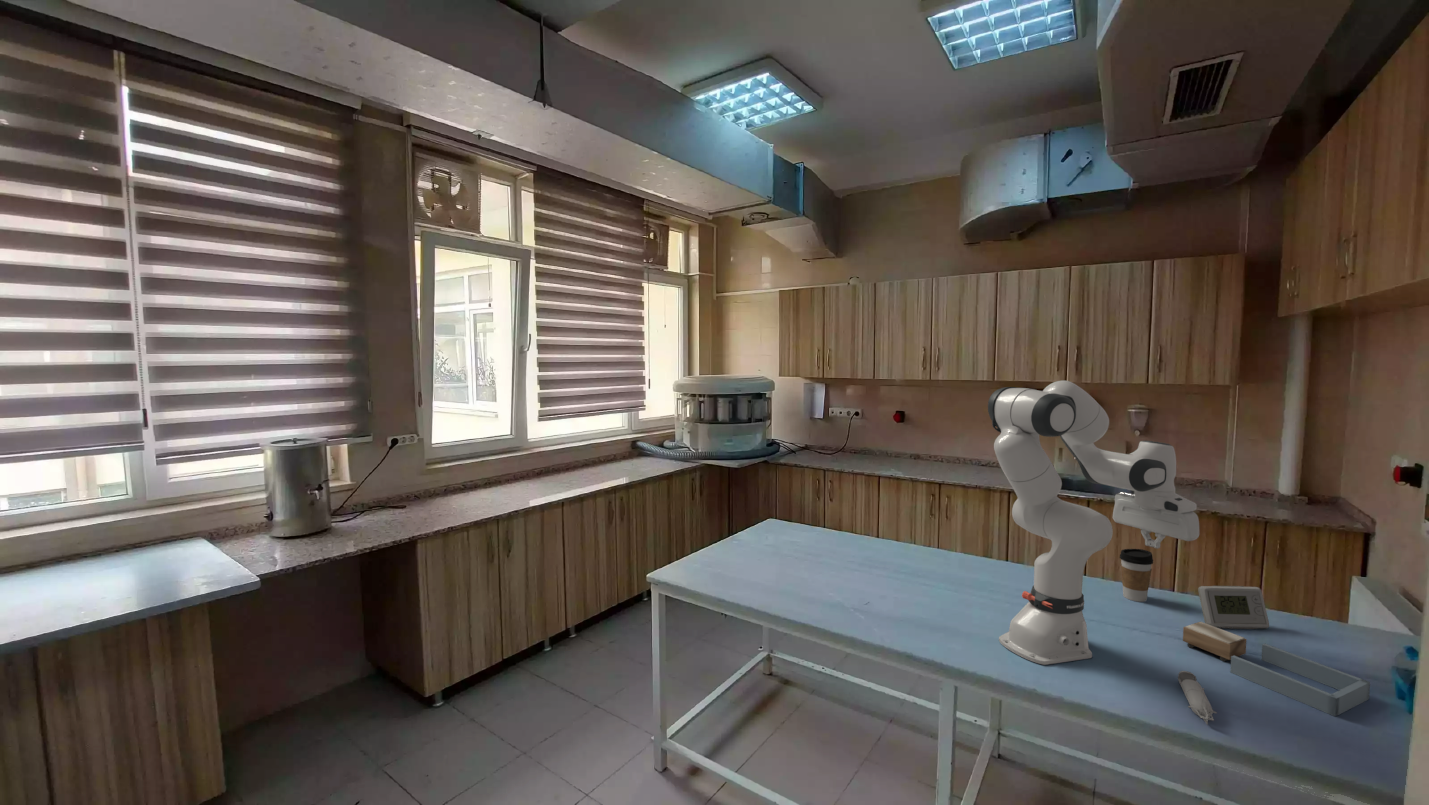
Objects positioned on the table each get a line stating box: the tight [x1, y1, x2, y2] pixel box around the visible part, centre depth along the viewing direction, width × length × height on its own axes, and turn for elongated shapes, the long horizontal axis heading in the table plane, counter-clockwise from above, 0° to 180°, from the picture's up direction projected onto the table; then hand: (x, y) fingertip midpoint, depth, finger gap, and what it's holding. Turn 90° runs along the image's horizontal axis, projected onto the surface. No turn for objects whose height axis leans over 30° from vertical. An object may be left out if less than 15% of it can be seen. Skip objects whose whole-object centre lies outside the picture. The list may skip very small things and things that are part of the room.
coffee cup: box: [1119, 548, 1154, 603], centre depth 173 cm, size 8×8×15 cm
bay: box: [1229, 643, 1371, 717], centre depth 128 cm, size 14×18×4 cm
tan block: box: [1182, 621, 1248, 662], centre depth 142 cm, size 7×10×5 cm
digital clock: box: [1197, 585, 1270, 630], centre depth 156 cm, size 16×9×11 cm, turn 72°
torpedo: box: [1177, 670, 1218, 726], centre depth 122 cm, size 18×5×6 cm, turn 151°
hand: (1152, 546), depth 155 cm, fingers closed
